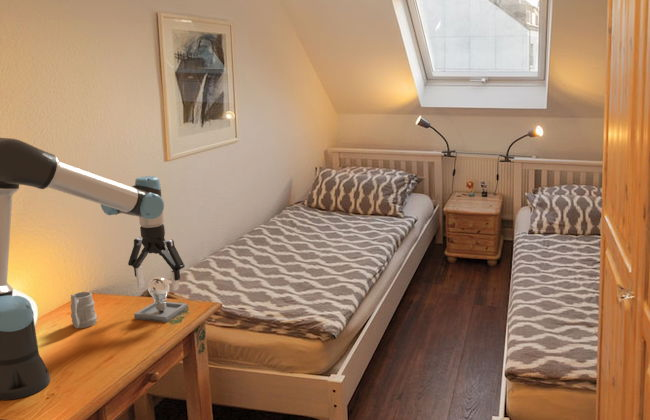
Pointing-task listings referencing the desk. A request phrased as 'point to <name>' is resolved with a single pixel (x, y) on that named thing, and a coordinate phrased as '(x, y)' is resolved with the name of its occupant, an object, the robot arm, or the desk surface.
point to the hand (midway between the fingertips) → (158, 288)
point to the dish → (165, 316)
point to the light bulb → (159, 291)
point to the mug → (83, 310)
